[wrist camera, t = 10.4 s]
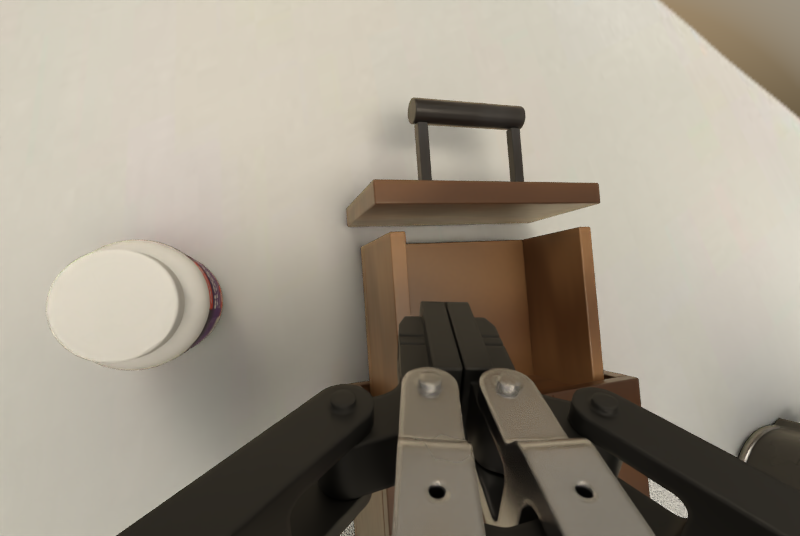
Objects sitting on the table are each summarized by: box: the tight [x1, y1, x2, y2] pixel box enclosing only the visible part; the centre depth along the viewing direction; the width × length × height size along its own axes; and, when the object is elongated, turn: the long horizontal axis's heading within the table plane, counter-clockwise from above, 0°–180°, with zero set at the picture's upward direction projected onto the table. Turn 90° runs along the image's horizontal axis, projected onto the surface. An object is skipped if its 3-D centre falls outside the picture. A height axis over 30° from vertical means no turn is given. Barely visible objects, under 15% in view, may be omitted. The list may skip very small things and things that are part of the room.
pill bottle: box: [46, 240, 223, 370], centre depth 19 cm, size 5×5×10 cm
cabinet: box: [350, 370, 650, 536], centre depth 24 cm, size 14×15×9 cm
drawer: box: [346, 98, 604, 397], centre depth 25 cm, size 18×13×7 cm
